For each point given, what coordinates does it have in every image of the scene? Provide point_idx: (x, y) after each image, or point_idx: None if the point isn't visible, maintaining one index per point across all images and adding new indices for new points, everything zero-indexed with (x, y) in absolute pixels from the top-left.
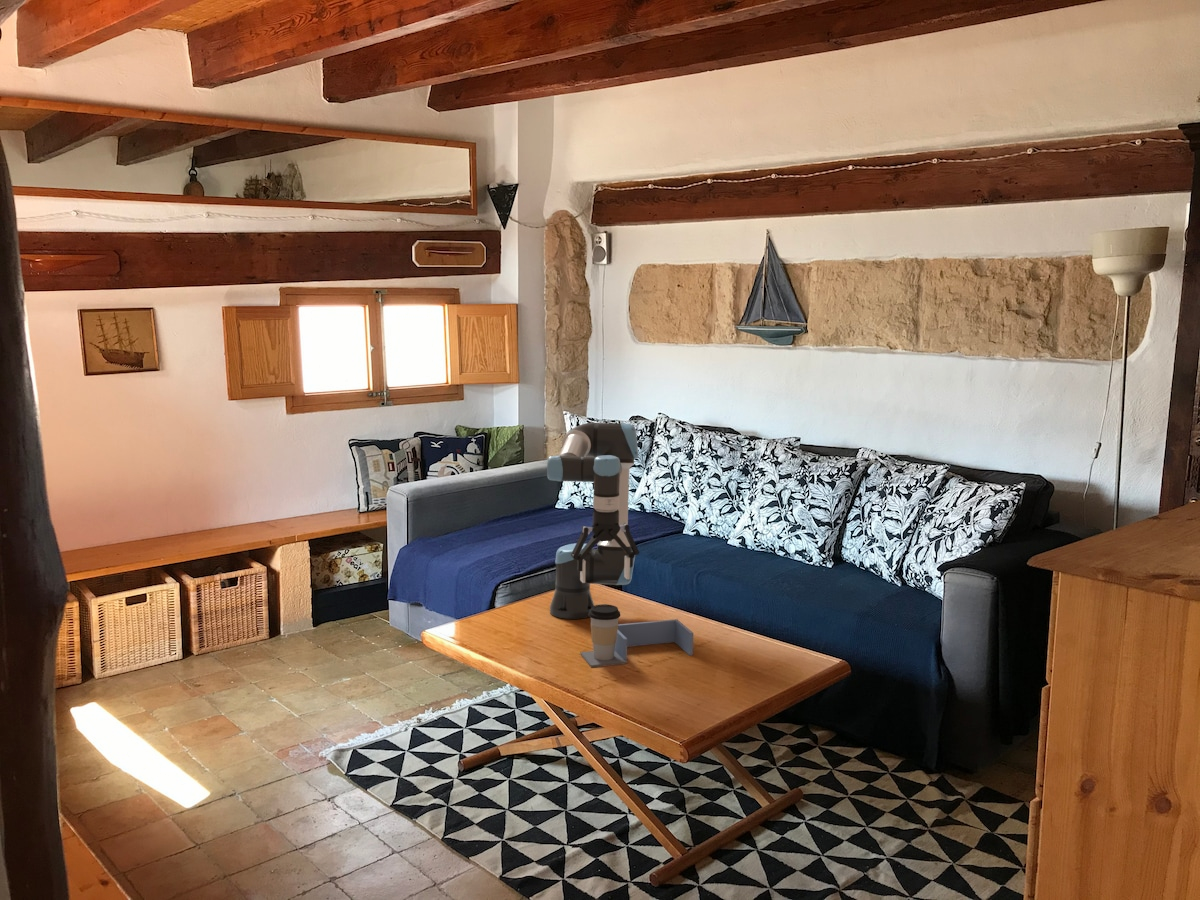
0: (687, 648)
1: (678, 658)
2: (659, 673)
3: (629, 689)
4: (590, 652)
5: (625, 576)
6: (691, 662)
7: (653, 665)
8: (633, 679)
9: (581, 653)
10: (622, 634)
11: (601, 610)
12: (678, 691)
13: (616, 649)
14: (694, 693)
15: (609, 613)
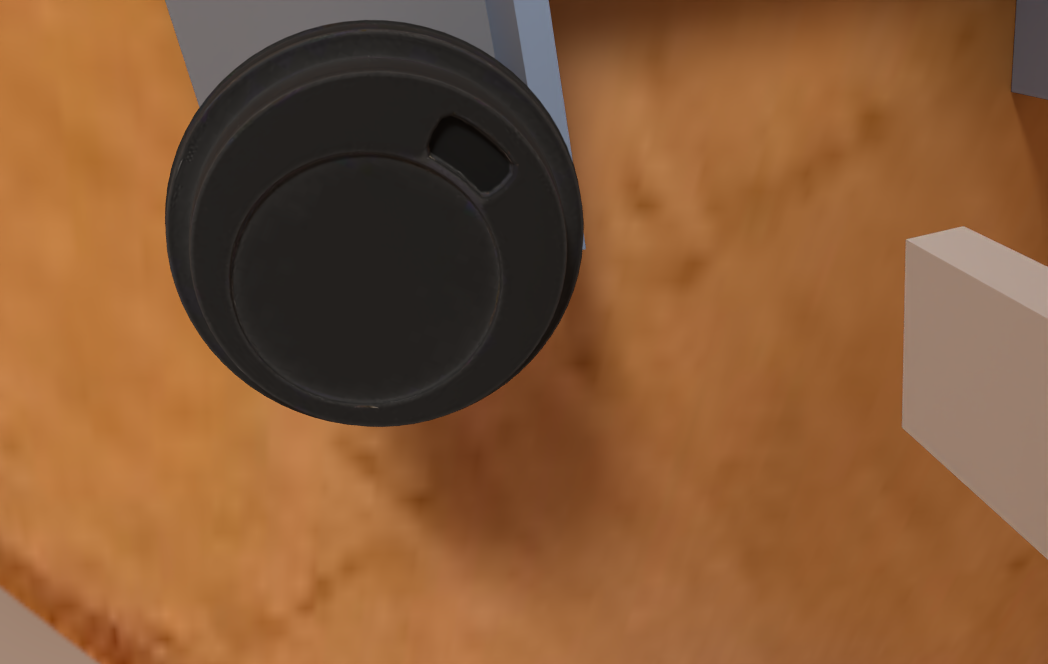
0: (1040, 52)
1: (916, 144)
2: (712, 398)
3: (487, 614)
4: (260, 12)
5: (925, 343)
6: (968, 222)
7: (712, 268)
8: (534, 486)
9: (176, 33)
10: (563, 124)
11: (337, 327)
12: (740, 623)
13: (492, 24)
14: (810, 639)
15: (435, 415)
